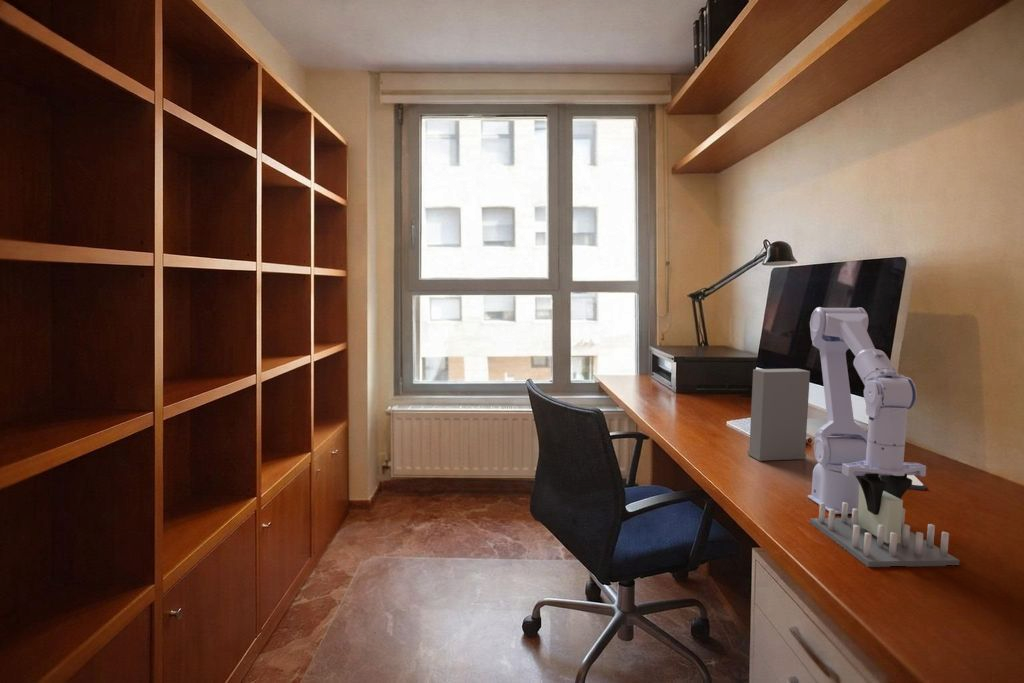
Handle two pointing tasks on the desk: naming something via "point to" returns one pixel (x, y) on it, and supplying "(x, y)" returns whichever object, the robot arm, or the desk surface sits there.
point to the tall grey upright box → (779, 414)
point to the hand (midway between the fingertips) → (880, 512)
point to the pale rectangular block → (881, 515)
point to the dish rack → (875, 549)
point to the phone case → (914, 483)
